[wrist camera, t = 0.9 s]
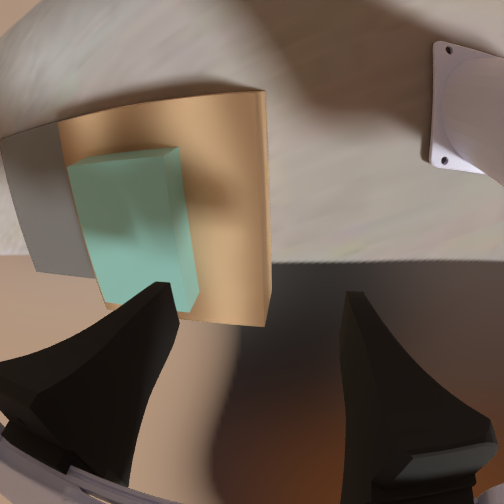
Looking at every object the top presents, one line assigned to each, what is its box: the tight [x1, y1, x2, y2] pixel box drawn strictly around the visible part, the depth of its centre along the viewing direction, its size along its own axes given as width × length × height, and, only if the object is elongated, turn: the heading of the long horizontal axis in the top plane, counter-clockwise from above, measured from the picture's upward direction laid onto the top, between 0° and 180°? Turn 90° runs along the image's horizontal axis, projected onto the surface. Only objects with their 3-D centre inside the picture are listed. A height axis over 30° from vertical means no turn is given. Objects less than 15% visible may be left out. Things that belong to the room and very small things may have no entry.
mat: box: [0, 113, 96, 279], centre depth 23 cm, size 12×14×1 cm
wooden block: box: [58, 91, 272, 327], centre depth 20 cm, size 12×14×4 cm
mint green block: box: [67, 147, 200, 313], centre depth 17 cm, size 6×9×2 cm, turn 3°
